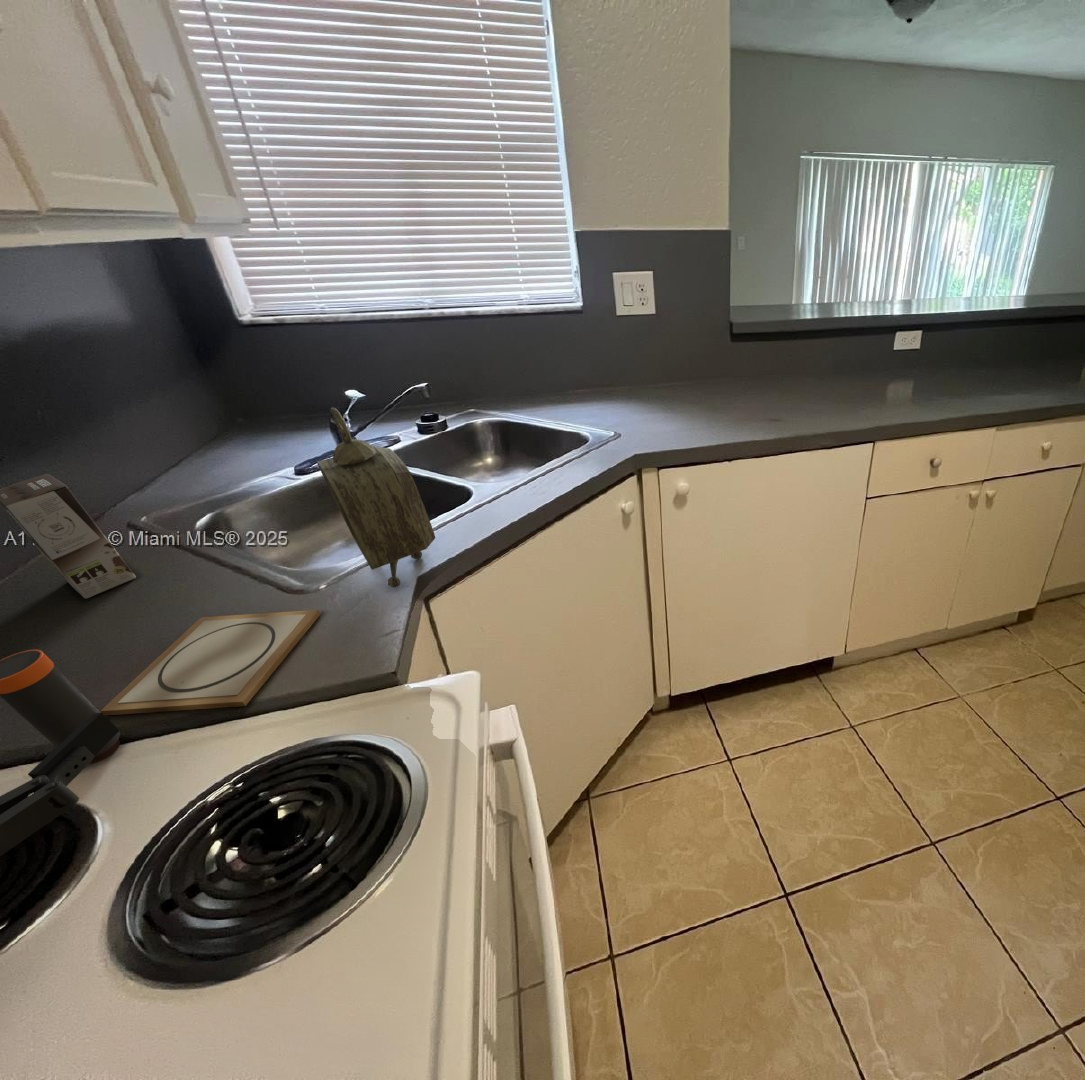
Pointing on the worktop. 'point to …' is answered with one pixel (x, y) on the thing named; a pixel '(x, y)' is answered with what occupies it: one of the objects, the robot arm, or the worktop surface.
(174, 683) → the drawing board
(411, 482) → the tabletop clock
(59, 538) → the coffee box
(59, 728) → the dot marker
